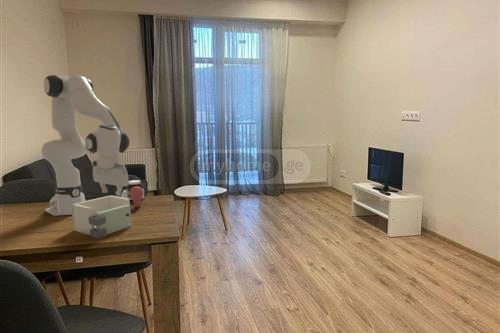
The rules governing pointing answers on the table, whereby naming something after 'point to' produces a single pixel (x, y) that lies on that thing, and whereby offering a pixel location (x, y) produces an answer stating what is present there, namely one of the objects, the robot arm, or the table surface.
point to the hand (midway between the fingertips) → (111, 193)
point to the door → (115, 218)
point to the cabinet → (86, 214)
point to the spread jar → (127, 192)
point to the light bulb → (136, 195)
